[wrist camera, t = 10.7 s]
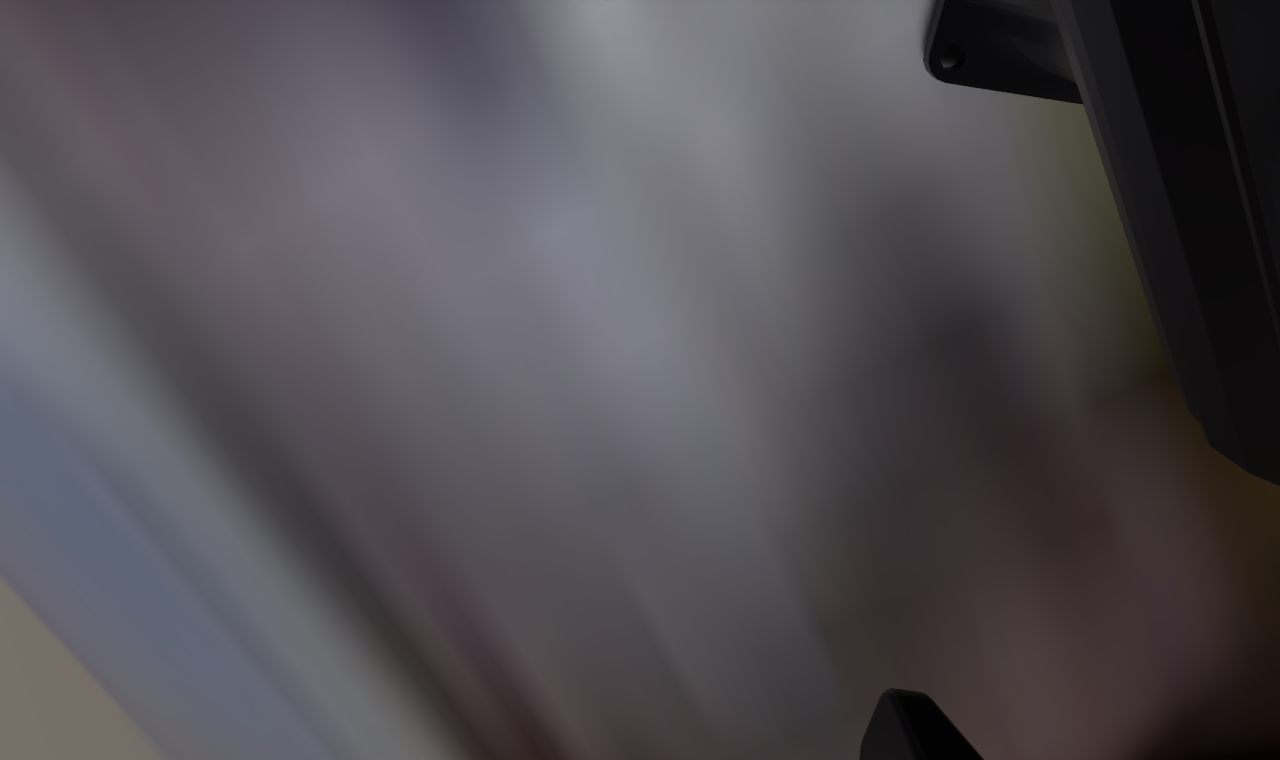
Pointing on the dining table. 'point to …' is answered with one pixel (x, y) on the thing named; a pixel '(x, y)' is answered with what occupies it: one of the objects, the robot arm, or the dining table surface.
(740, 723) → the dining table surface
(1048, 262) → the dining table surface
